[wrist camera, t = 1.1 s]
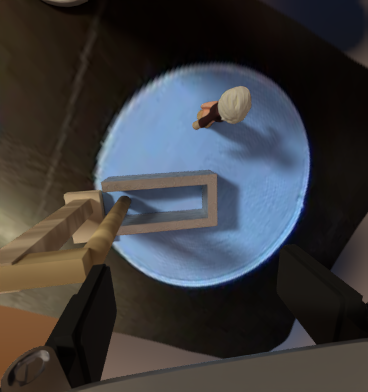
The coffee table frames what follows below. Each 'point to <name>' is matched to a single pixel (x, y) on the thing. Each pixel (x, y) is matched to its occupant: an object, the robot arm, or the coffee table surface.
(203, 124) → the grandmother figurine
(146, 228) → the steel C-link
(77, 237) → the pin stand
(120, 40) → the coffee table surface
